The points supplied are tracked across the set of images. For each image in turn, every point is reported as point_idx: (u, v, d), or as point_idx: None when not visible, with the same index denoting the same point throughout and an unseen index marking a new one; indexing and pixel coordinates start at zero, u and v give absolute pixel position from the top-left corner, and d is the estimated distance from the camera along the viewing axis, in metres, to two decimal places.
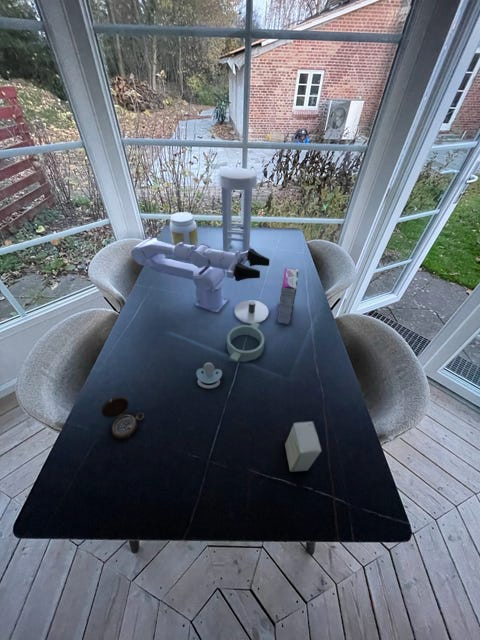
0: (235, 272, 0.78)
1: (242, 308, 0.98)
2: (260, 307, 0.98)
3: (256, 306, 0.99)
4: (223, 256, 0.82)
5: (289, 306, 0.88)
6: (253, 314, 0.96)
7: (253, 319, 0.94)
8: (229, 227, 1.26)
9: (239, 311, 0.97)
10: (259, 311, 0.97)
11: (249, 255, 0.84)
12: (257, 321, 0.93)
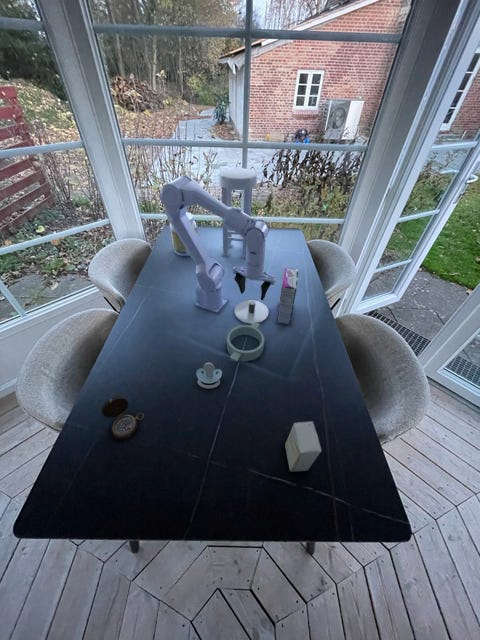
0: None
1: (242, 308, 0.98)
2: (260, 307, 0.98)
3: (256, 306, 0.99)
4: None
5: (289, 306, 0.88)
6: (253, 314, 0.96)
7: (253, 319, 0.94)
8: None
9: (239, 311, 0.97)
10: (259, 311, 0.97)
11: None
12: (257, 321, 0.93)
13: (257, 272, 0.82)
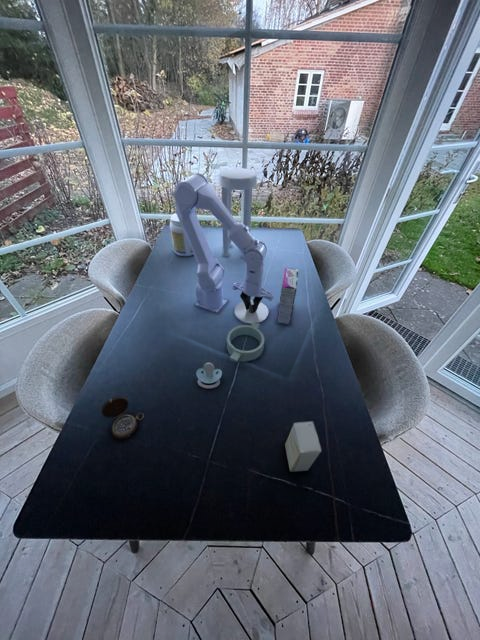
0: (263, 297, 0.91)
1: (242, 308, 0.98)
2: (260, 307, 0.98)
3: None
4: None
5: (289, 306, 0.88)
6: (253, 314, 0.96)
7: (253, 319, 0.94)
8: None
9: (239, 311, 0.97)
10: (259, 311, 0.97)
11: None
12: (257, 321, 0.93)
13: (256, 289, 0.87)
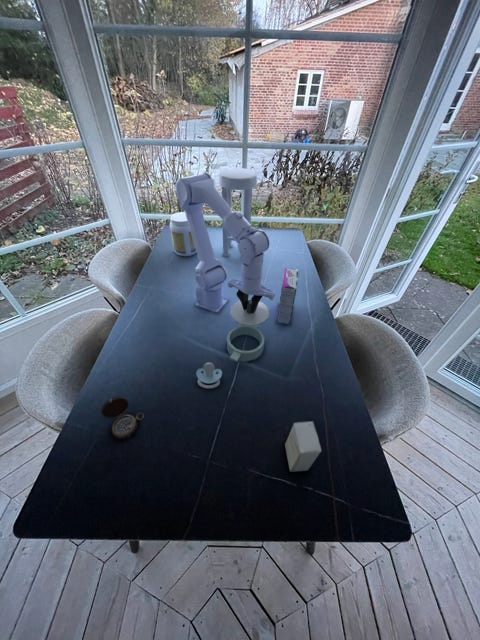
0: (262, 295, 0.79)
1: (239, 308, 0.86)
2: (259, 307, 0.87)
3: None
4: None
5: (289, 306, 0.88)
6: (251, 315, 0.84)
7: (252, 321, 0.82)
8: None
9: (235, 312, 0.85)
10: (258, 311, 0.85)
11: None
12: (256, 323, 0.81)
13: (254, 286, 0.75)
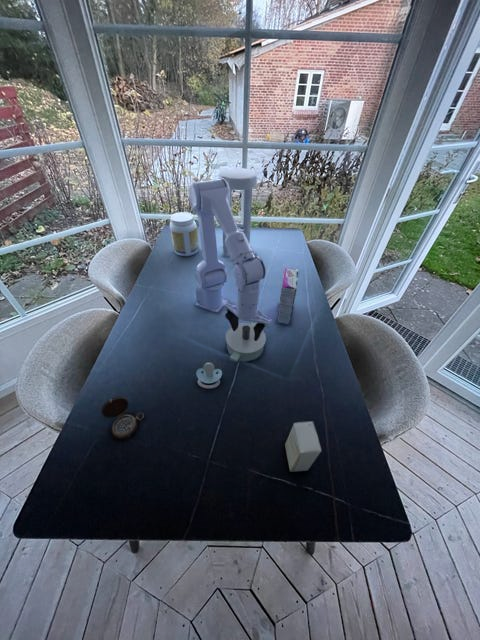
0: None
1: (235, 333, 0.84)
2: None
3: (252, 331, 0.84)
4: None
5: (289, 306, 0.88)
6: (247, 341, 0.81)
7: (246, 348, 0.79)
8: None
9: (231, 336, 0.82)
10: None
11: None
12: (250, 351, 0.78)
13: (249, 312, 0.72)
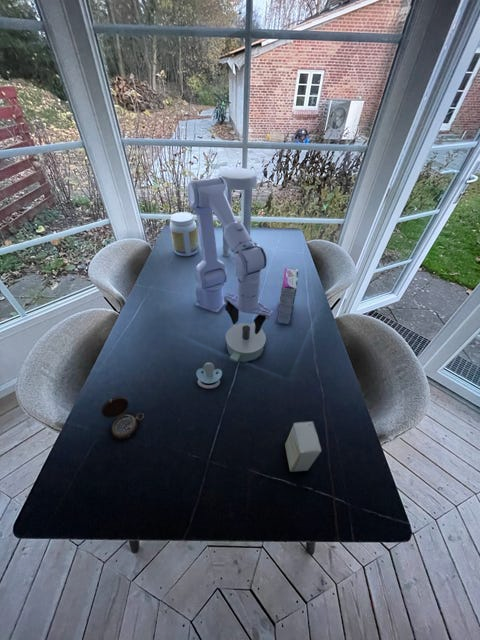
0: None
1: (235, 333, 0.84)
2: None
3: (252, 331, 0.84)
4: None
5: (289, 306, 0.88)
6: (247, 341, 0.81)
7: (246, 348, 0.79)
8: None
9: (231, 336, 0.82)
10: (255, 338, 0.82)
11: None
12: (250, 351, 0.78)
13: (250, 304, 0.70)
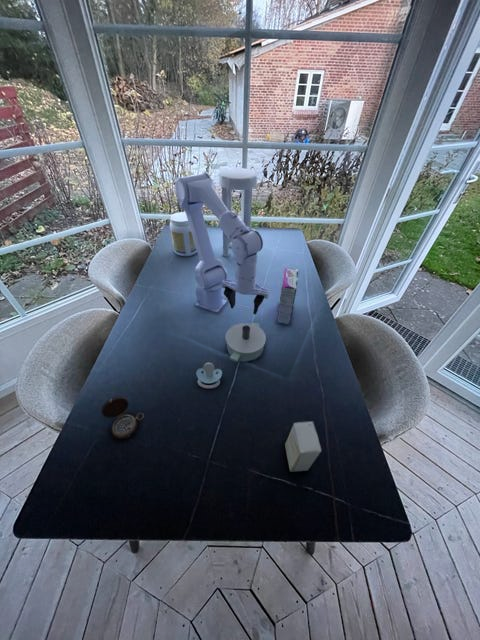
0: None
1: (235, 333, 0.84)
2: (256, 333, 0.84)
3: (252, 331, 0.84)
4: None
5: (289, 306, 0.88)
6: (247, 341, 0.81)
7: (246, 348, 0.79)
8: None
9: (231, 336, 0.82)
10: (255, 338, 0.82)
11: None
12: (250, 351, 0.78)
13: (249, 285, 0.75)
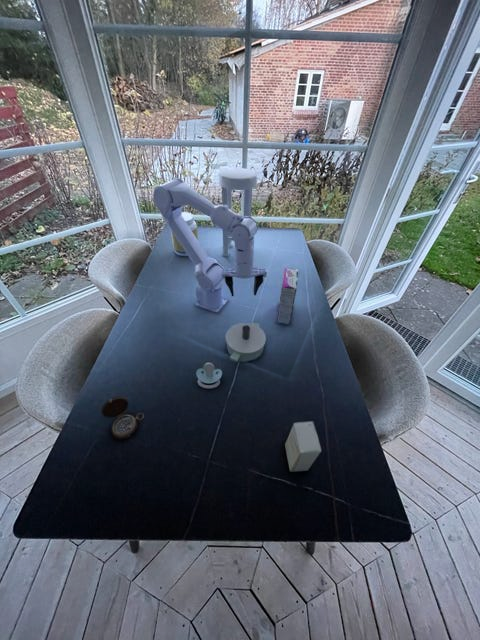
0: None
1: (235, 333, 0.84)
2: (256, 333, 0.84)
3: (252, 331, 0.84)
4: None
5: (289, 306, 0.88)
6: (247, 341, 0.81)
7: (246, 348, 0.79)
8: None
9: (231, 336, 0.82)
10: (255, 338, 0.82)
11: None
12: (250, 351, 0.78)
13: (250, 268, 0.82)
